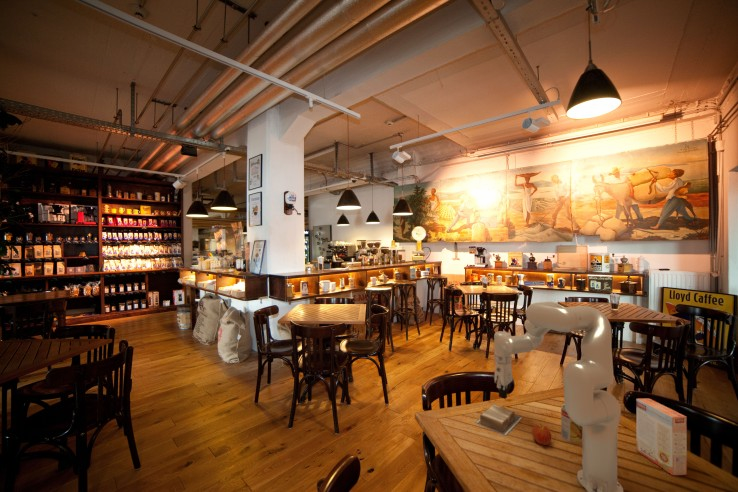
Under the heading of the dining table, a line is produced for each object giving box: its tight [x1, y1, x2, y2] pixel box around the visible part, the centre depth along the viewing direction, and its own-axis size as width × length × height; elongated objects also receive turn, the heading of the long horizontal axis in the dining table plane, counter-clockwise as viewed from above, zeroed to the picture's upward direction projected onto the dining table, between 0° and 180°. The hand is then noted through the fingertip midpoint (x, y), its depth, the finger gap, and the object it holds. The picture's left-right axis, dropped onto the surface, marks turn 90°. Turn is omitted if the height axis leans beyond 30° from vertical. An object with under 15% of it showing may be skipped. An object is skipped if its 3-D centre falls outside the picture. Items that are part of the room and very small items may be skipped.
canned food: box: [560, 404, 583, 445], centre depth 132 cm, size 8×8×12 cm
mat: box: [475, 414, 524, 437], centre depth 144 cm, size 20×14×1 cm
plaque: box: [479, 404, 516, 432], centre depth 143 cm, size 4×10×14 cm
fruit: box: [531, 423, 552, 446], centre depth 128 cm, size 7×7×8 cm
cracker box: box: [635, 397, 688, 476], centre depth 117 cm, size 14×6×21 cm, turn 4°
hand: (502, 397), depth 147 cm, fingers closed
